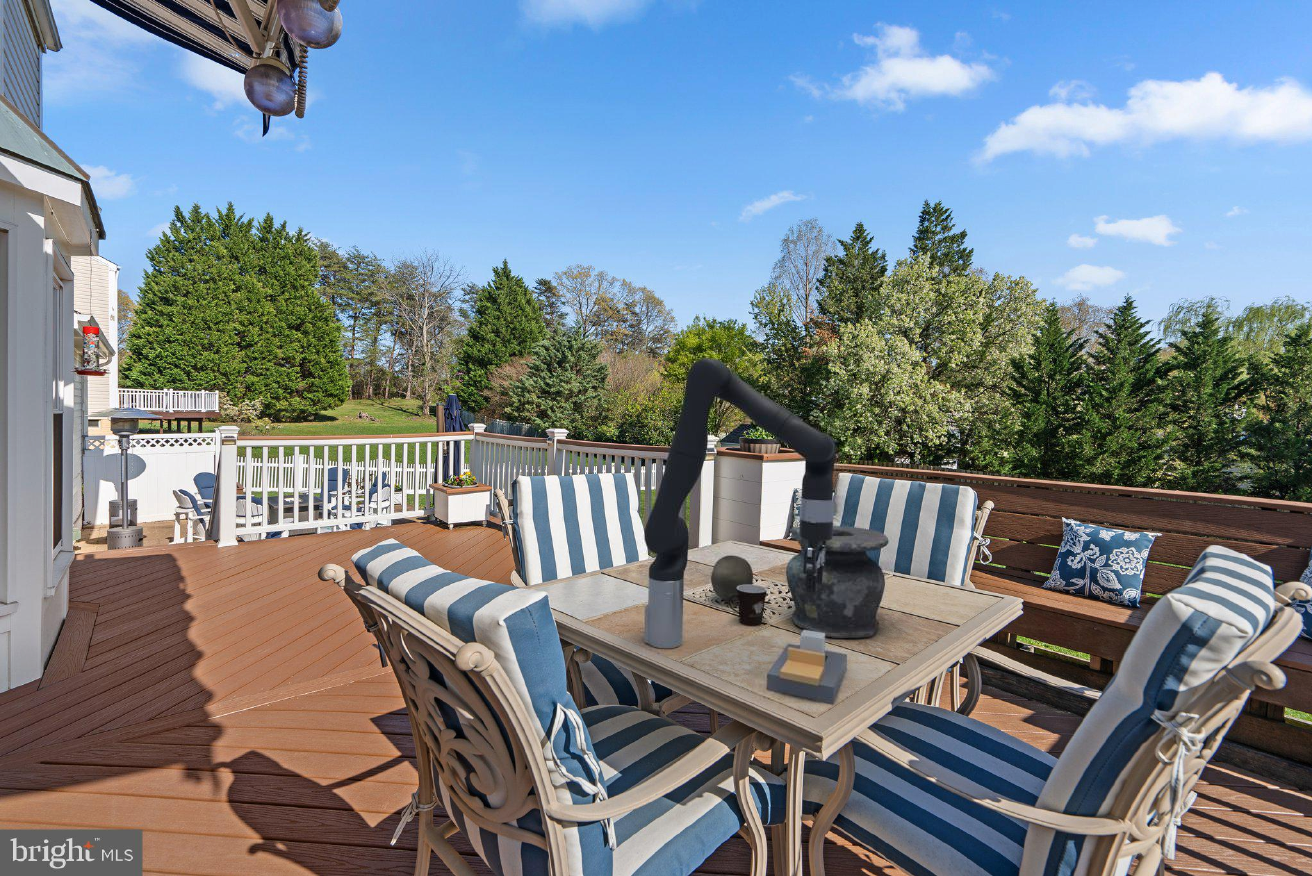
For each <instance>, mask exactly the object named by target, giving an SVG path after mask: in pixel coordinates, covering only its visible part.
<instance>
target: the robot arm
mask: <svg viewBox="0 0 1312 876" xmlns="http://www.w3.org/2000/svg"><path fill="white" fill-rule="evenodd" d="M716 398H718V399H720V400H722V401H725V402H727V403H729V404H730V405H732V406H734V407H735V408H737V409H738V410H740V411H741V412H742V413H743V414H744V415H746V416H747V417H748V418H749V419H750V420H751V421H752V422H753V423H754V424H755V425H757V426H758V427H759V428H761V429H762V430H763V431H765V432H767V433H768V434H769V435H771V436H773V437H774V438H776V439H777V440H779V441H781V442H783V443H784V444H786V446H788V447H789V448H790V449H792V450H793V451H794V452H796V454H798V455H799V456H801V457H802V458H803V459H805V463H804V465H805V467H804V473H803V477H802V482H801V501H800V506H799V507H800V508H799V526H798V527H799V536H800V537H801V538H803V539H807V540H808V547H805V548H804V568H803V574H805V575H806V587H805V590H806V591H807V592H811V593H814V592H815V591H816V583H818V584H821V583H822V581H823V568H824V563H825V562H826V560H825V553H826V541H829V540H831V539H832V538H833V526H834V497H833V496H834V478H833V476H834V470H835V463H836V451H837V449H836V448H837V447H836V444H835V440H834V438H833V437H832V436H830V434H828V433H825V432H821V431H819V430H817V429H816V428H814V427H812V426H811V425H809V424H807V423H806V422H804V421H803V420H802V419H801V418H800V417H799V416H798V415H796V414H795V413H793V412H791V411H790V410H788V409H787V408H786V407H784V406H782V405H780V404H779V403H777V402H776V401H774V400H773V399H771V398H769V397H767V396H766V395H763V394H762V393H761V392H759V391H757V390H756V389H754V388H753V387H752V386H751V385H749V384H748V383H746V382H745V381H744V380H743V379H741V377H739V376H738V375H737V374H736V373H734V371H733V370H731V369H730V368H729V367H728V366H727V364H725V363H724V362H723V361H721V360H717V359H714V358H711V357H710V358H709V357H703V358H699V359H697V360H696V361H695V362H693V364H692V365H691V366H690V368H689V370H688V373H687V377H686V383H685V389H684V396H683V401H682V407H681V410H680V414H679V417H678V420H677V424H676V428H675V431H674V434H673V437H672V440H671V444H670V448H669V451H668V455H667V459H666V462H665V467H664V470H663V475H662V477H661V481H660V485H659V487H658V488H659V489H658V491H657V495H656V498H655V502H654V505H653V507H652V509H651V511H650V514H649V517H648V519H647V523H646V525H645V528H644V534H643V538H644V542H645V546H646V547H647V549H648V550H649V551H650V552H652V553H653V554H656V556H655V558H654V560H653V562H652V563H651V564H650V565H649V567H648V595H647V597H648V598H647V599H648V600H647V603H648V604H647V605H645V606H644V631H643V632H644V634H643V635H644V636H643V637H644V638H643V640H644V641H643V642H644V643H646V644H648V645H649V644H650V645H649V646H651V647H654V648H658V649H674V648H677V647H680V646H681V645H682V644H683V632H684V630H683V627H684V626H683V625H684V622H683V620H684V591H685V590H684V589H685V587H684V586H685V585H684V583H685V580H684V579H685V570H686V569H687V565H688V559H689V555H688V554H689V545H690V544H689V540H690V536H689V535H690V534H689V528H688V525H687V522H686V521H685V520H684V519H683V518H682V517H680V513H681V509H682V507H683V504H684V502H685V501H686V500H687V499H686V498H688V495H689V494H690V492H691V491H692V490H693V489H694V487H695V486H696V483H697V482H698V480H699V477H700V476H701V473H702V470H703V467H704V462H705V459H706V457H707V453H708V446H709V445H708V443H709V430H708V428H709V427H708V425H709V417H710V415H711V410H712V407H713V404H714V401H715V399H716ZM809 567H812V569H809Z"/></svg>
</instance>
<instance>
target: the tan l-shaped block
mask: <svg viewBox="0 0 1312 876" xmlns="http://www.w3.org/2000/svg"><path fill="white" fill-rule="evenodd" d="M824 672H825V654H823V653H818V652H813V651H807V650H802V649H797V648H791V647H789V648H788V655H787V661H786V663H785V664H784V666H783V667H782V669H781V670H780V678H784V679H789V680H794V681H798V682H803V683H808V684H813V685H817V686H818V685H819V683H820V681H821V678H822V676H823V674H824Z"/></svg>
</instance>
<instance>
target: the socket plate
mask: <svg viewBox="0 0 1312 876" xmlns="http://www.w3.org/2000/svg"><path fill="white" fill-rule="evenodd" d="M789 647H791V648H797V649H800V644H799V645H798V644H794V643H793V644H792V643H787V644H786V646H785V647H784V649H783V650H782V651H781V654H779V656H778V657H777V659H776V660H775V662H774V663H773V664H772V666H771V667H770V669H769V671H768V672H767V674H766V690H767V691H771V692H777V693H781V694H785V695H790V696H795V697H798V698H802V699H803V698H804V699H807V700H813V701H817V702H822V703H826V704H830V703H832V705H834V704H833V703H835V701H836V698H837V695H838V693H839V691H840V687H841V685H842V682H843V679H844V677H845V675H844V674H846V672H847V667H848V665H847V664H848V654H847V653H842V652H837V651H831V650H825V672H824V674H823V676H822V678H821V681H820V683H819V685H818V686H817V685H813V684H808V683H803V682H798V681H794V680H789V679H784V678H780V670H781V669H782V667H783V666H784V664H785V663H786V661H787V655H788V648H789Z"/></svg>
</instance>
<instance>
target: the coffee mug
mask: <svg viewBox="0 0 1312 876" xmlns="http://www.w3.org/2000/svg"><path fill="white" fill-rule="evenodd" d="M766 596H767V588H766V587H764V586H762V585H757V584H752V585H740V586H737V595H732V596H731V597H730V598H729V601H727V604H728V607H729V608H730V609H731V610H732V611H733V612H735V613H737V614H738V617H739V618H738V619H739V623H740V624H742V626H746V627H758V626H761V625H762V623H763V618H764V617H763V616H764V611H765V610H764V609H765V602H766ZM733 597H737V598H738V600H737V606H738V607H737V608H738V610H737V609H735V608H734V607H733V606H732V604H731V602H730V601H731V599H732V598H733Z"/></svg>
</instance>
